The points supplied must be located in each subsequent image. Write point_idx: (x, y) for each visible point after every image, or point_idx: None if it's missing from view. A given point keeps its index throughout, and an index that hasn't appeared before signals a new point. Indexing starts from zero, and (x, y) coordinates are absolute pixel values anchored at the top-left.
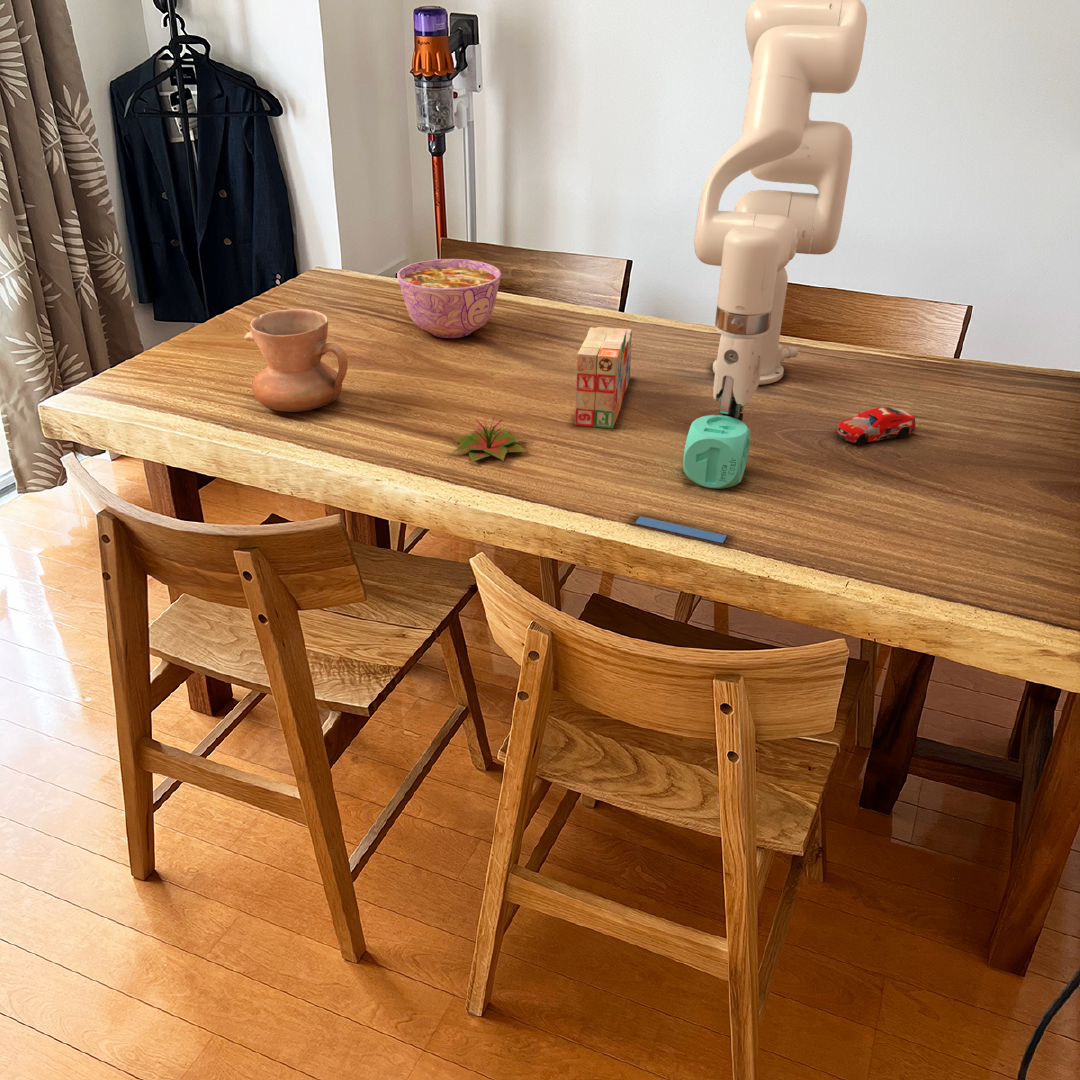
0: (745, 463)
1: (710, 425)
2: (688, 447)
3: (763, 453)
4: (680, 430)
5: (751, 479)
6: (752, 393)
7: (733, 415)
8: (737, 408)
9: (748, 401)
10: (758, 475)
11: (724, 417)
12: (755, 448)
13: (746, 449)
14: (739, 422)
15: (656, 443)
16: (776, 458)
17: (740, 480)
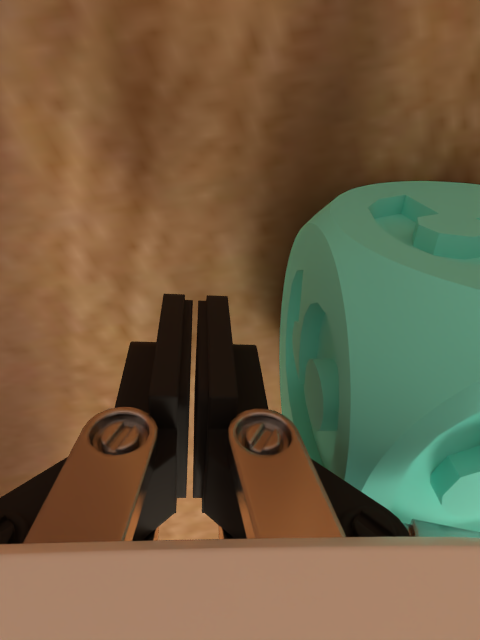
0: (378, 195)
1: (473, 523)
2: None
3: (62, 113)
4: (38, 469)
5: (397, 131)
6: (262, 597)
7: (313, 461)
8: (323, 502)
9: (478, 551)
10: (345, 100)
11: (389, 503)
12: (24, 168)
13: (472, 234)
14: (474, 408)
15: (184, 500)
16: (88, 18)
17: (468, 184)
